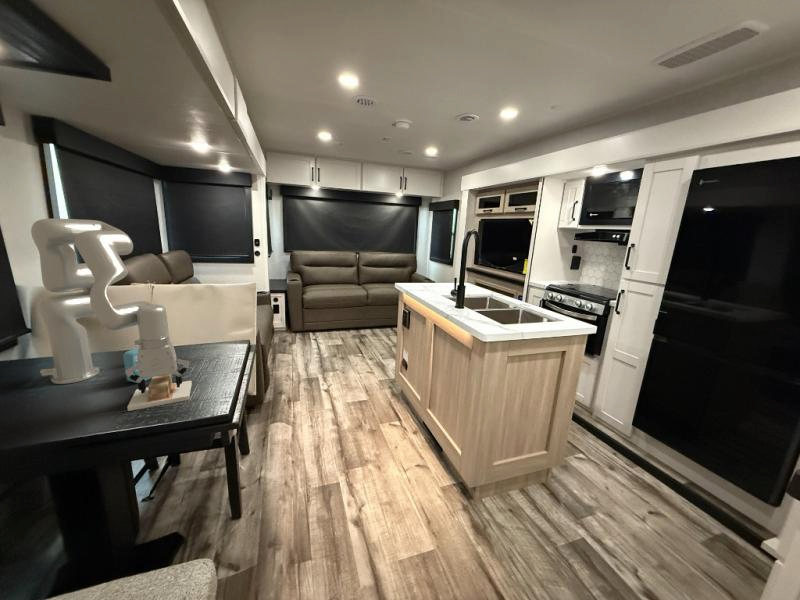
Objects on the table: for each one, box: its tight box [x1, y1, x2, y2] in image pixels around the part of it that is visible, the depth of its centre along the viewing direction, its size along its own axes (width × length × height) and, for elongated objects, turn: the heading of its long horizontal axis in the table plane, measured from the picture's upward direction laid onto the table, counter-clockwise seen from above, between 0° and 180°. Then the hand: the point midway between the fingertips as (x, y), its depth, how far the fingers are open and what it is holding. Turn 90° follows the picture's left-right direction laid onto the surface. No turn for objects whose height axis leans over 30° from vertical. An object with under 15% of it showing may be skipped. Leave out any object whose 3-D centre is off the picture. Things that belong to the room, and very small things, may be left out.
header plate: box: [126, 380, 193, 412], centre depth 106 cm, size 16×12×2 cm
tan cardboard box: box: [147, 374, 173, 401], centre depth 105 cm, size 5×9×5 cm, turn 30°
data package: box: [122, 347, 152, 383], centre depth 117 cm, size 12×4×12 cm, turn 165°
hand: (161, 388), depth 105 cm, fingers open, 9 cm apart
